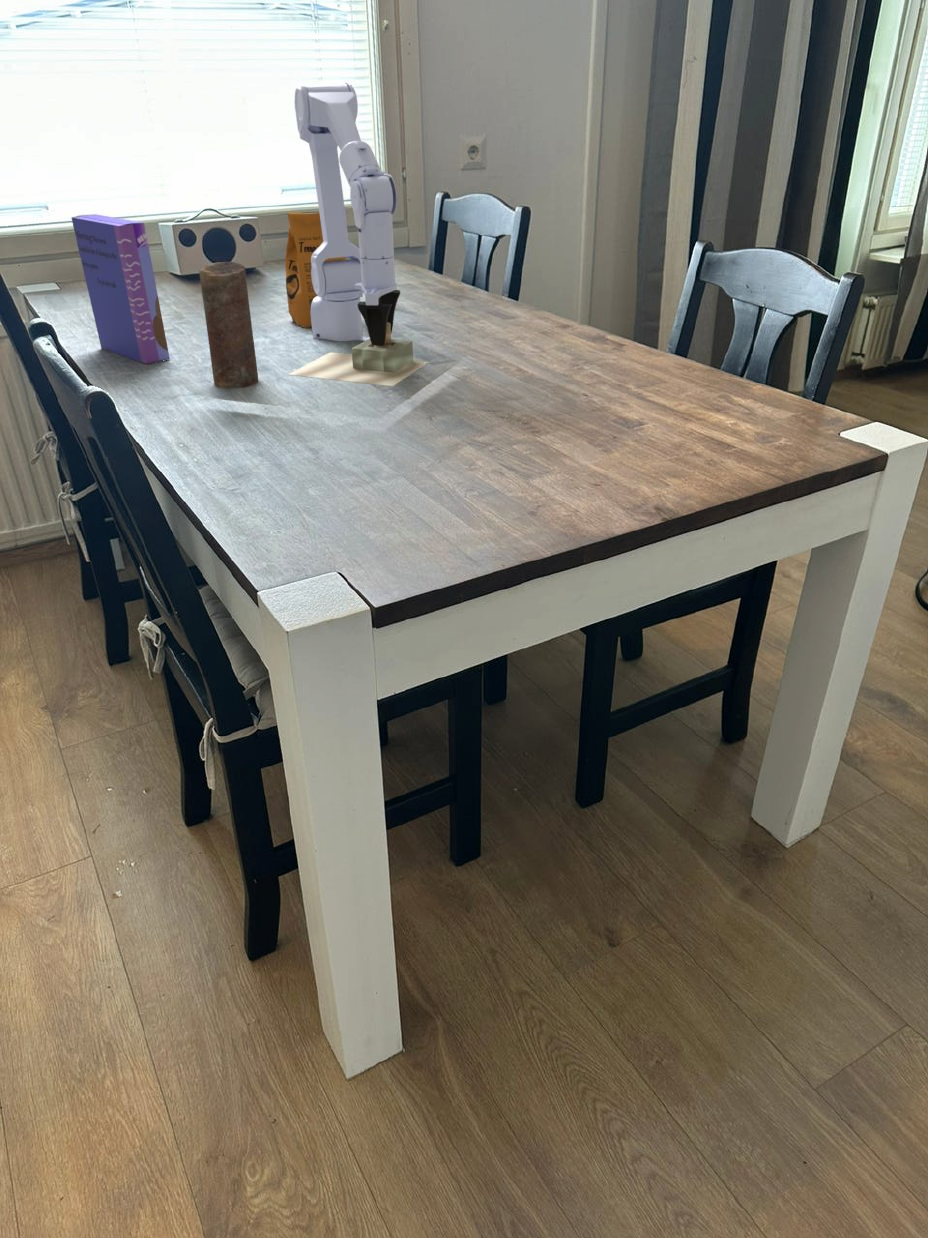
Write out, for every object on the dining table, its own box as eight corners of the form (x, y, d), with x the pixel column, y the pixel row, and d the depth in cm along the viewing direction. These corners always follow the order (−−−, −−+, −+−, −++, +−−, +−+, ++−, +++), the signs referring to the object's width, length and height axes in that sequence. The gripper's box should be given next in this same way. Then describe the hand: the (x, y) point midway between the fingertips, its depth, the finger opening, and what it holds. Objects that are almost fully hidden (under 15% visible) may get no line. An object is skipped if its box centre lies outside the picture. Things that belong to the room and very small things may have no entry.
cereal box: (169, 359, 164) (143, 221, 152) (147, 364, 162) (118, 224, 149) (123, 343, 175) (95, 212, 162) (101, 348, 172) (71, 215, 159)
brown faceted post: (269, 386, 150) (252, 262, 139) (246, 399, 144) (228, 270, 133) (230, 382, 152) (211, 260, 141) (206, 394, 146) (185, 268, 135)
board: (288, 382, 151) (285, 353, 148) (330, 360, 163) (328, 333, 160) (393, 394, 145) (391, 364, 142) (428, 370, 156) (427, 342, 154)
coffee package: (285, 320, 190) (273, 209, 179) (339, 313, 195) (330, 205, 183) (299, 329, 183) (287, 215, 171) (355, 322, 188) (347, 211, 176)
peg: (373, 366, 153) (372, 325, 150) (376, 361, 156) (374, 321, 152) (390, 366, 153) (389, 325, 150) (392, 362, 156) (391, 321, 152)
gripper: (361, 248, 152) (367, 328, 159) (344, 264, 139) (351, 349, 147) (401, 249, 151) (405, 329, 158) (387, 264, 139) (392, 350, 146)
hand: (381, 339), depth 152 cm, fingers open, 7 cm apart
